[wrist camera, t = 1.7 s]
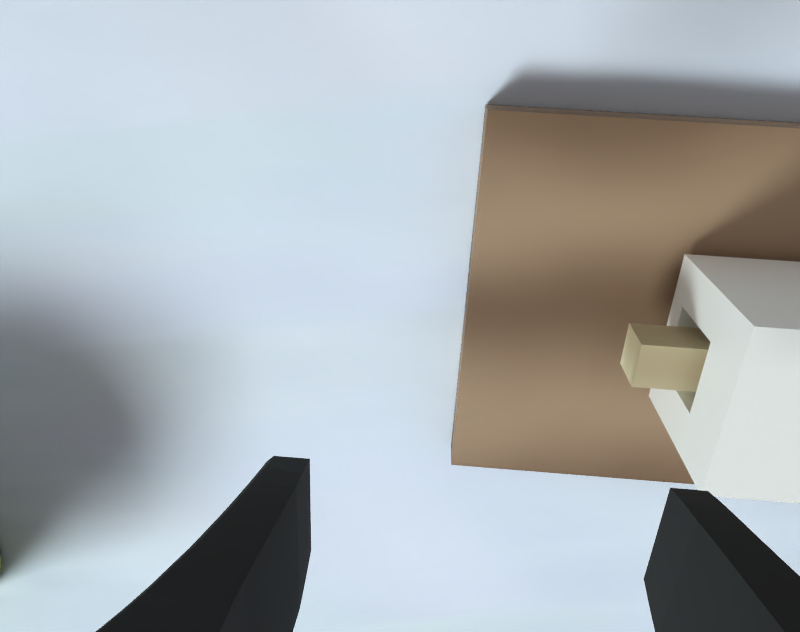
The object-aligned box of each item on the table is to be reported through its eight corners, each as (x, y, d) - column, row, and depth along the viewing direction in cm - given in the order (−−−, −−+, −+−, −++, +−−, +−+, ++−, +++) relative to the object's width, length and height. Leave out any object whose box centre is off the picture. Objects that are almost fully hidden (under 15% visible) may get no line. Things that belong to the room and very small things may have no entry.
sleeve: (823, 408, 19) (921, 513, 15) (648, 395, 19) (700, 495, 15) (879, 267, 17) (1008, 344, 13) (684, 254, 17) (754, 326, 13)
